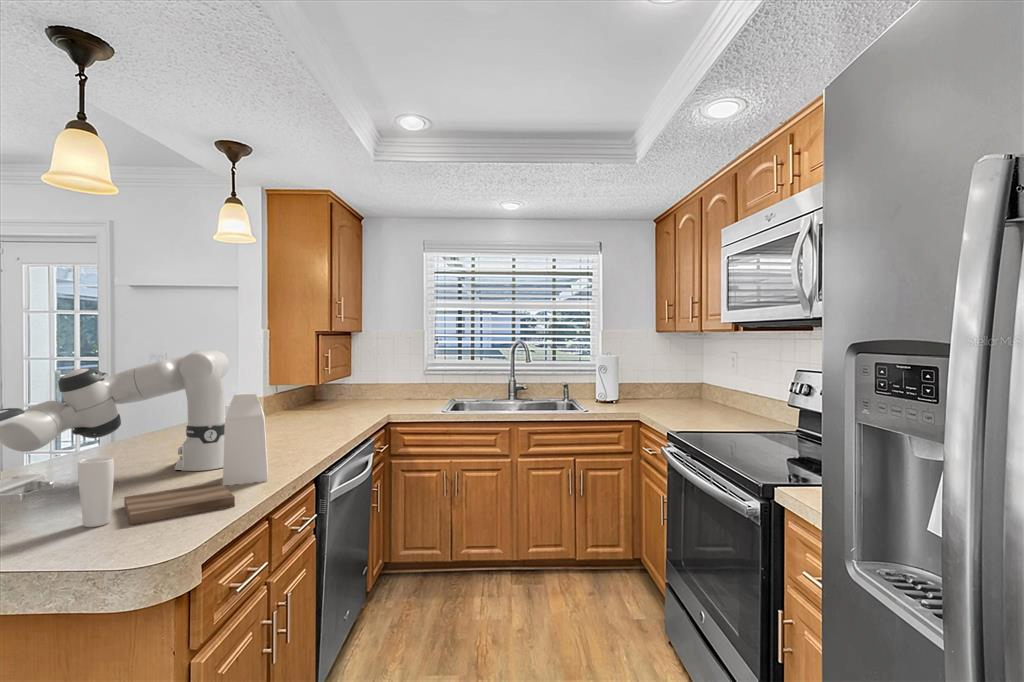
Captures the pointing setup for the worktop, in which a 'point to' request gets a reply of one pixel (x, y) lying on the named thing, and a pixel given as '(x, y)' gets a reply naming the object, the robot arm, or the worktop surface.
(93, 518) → the drinking glass
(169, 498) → the walnut board
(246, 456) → the milk
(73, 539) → the worktop surface
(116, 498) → the worktop surface
